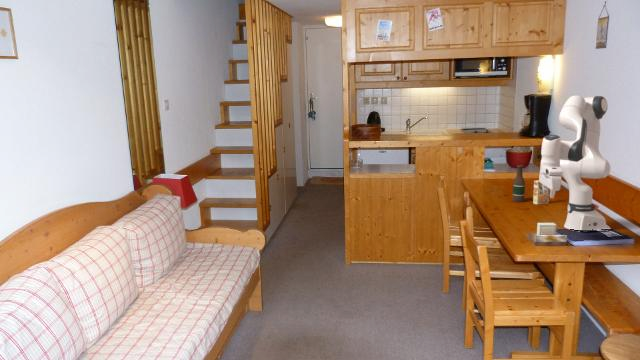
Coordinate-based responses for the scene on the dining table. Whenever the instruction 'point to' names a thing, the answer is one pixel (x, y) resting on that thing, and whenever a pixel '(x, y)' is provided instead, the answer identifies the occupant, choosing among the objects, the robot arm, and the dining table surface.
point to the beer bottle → (519, 186)
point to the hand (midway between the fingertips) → (548, 195)
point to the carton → (546, 229)
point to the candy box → (540, 194)
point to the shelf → (547, 239)
